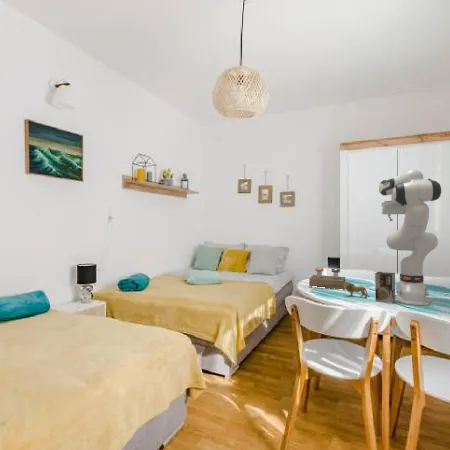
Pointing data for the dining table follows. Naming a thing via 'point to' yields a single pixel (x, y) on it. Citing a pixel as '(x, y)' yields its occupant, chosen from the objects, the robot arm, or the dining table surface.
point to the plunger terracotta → (319, 272)
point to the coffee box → (385, 287)
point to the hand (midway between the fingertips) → (398, 221)
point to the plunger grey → (335, 273)
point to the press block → (327, 282)
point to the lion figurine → (355, 289)
